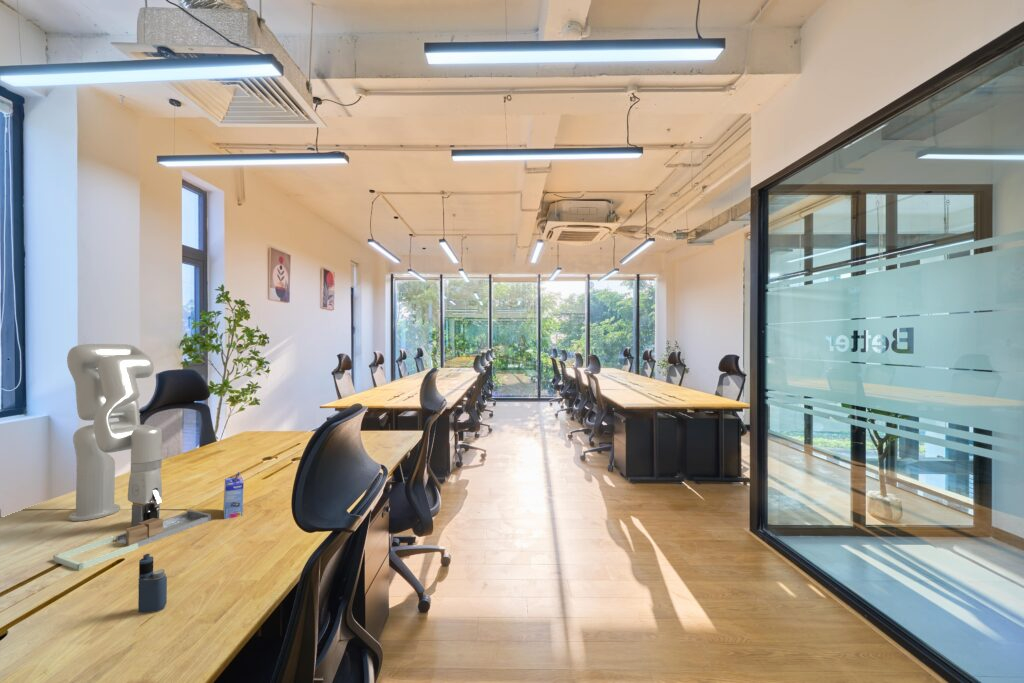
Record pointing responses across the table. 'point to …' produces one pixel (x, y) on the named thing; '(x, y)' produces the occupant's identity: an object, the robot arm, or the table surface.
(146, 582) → the vaping device
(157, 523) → the tan cardboard cube
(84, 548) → the tray
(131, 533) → the brown cube
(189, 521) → the open rectangular box
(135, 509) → the orange and gray block
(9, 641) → the table surface
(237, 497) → the ink cartridge box
